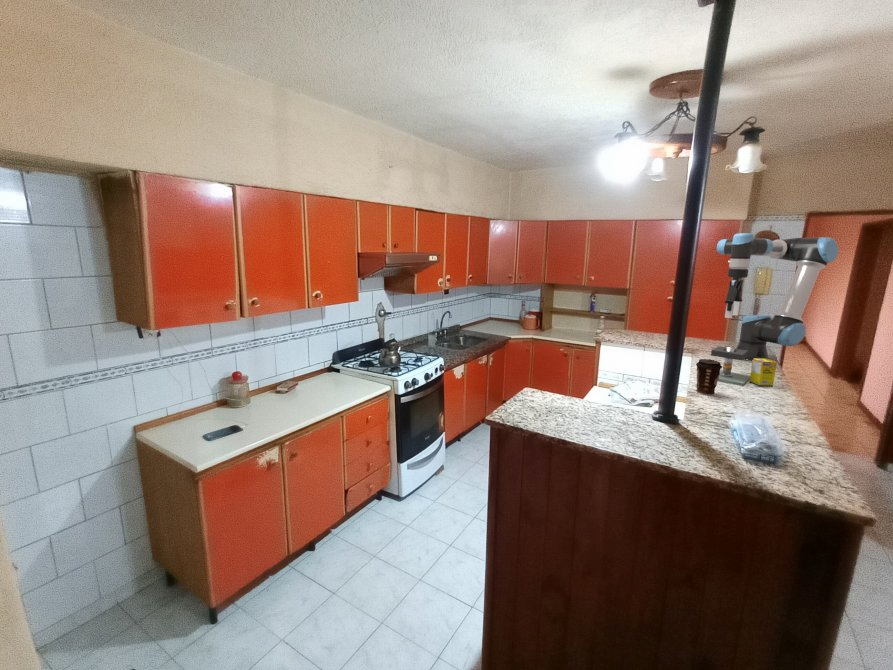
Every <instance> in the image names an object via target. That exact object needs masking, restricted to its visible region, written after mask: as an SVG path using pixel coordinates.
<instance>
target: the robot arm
mask: <svg viewBox="0 0 893 670" xmlns="http://www.w3.org/2000/svg"><path fill="white" fill-rule="evenodd" d="M754 236H755V235H754V233H749V232H748V233H747V232H745V233H735V234H734V235H733V237H732V238H724V239H720V240H719V241H718V242H717V245H716V252H717V253H718V254H719V255H724V256H730V257H729V258H730V259H729V260H728V261H727V263H728V271H727V277H729V278H732V279H731V280H730V281H729V285H728V290H727V294H726V300H724V304H726V306H725V313H724V318H726V319H733V316H737V317H738V316H739V311H740V304H741V302H743V299H742V295H743V284H744V279H742V278H748V276H749V268H750V266H751V265H750V264H751V257H752V256H753V257H755V256H756V257H769V258H771V259H775V260H783V261H790V262H795V265H796V266H797V269H796V271H795V273H794V275H793V277H792V281H791V283H790V285H789V289H788V290H787V293H786V296H785V297H784V300H783V304H782V306H781V308H780V310H779V312H778V313H776V314H774V315H773V318H772V316H771V315H769V314H767V315H762V314H761V315H759V314H757V315H745V316H743V318H742V322H741V328H740V335H739V340H738V344H737V346H736V347H735V349H740V350H747V351H748V356H747V357H746V358H744V359H748V360H753V359H754V358H758V359H769V352H768V349H767V343H772V344H776V345H779V346H787V347H794V346H797V345H798V344H799V343H801V342H802V341H803V339H804V337H805V336H806V333H807V332H806V331H807V329H806V326H805V324H804V319H803V318H802V316H803V313H804V311H805V308H806V306H807V305H808V301H809V300H810V296H811V293H812V291H813V289H814V287H815V283H816V281H817V279H818V277H819V274H820V272H821V270H824V269H826V268H827V265H828V263H833V262H834V261H836V259H837V257H838V254H839V246H838V243H837V241H836V240H835V239H834V238H832V237H825V236H821V237H820V236H819V237H793V238H785V239H775V240H771V239H768V238H763V237H762V238H761V237H760V238H758V237H757V238H754ZM748 360H747V361H748Z"/></svg>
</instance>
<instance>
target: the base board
mask: <svg viewBox="0 0 893 670" xmlns="http://www.w3.org/2000/svg"><path fill="white" fill-rule="evenodd" d="M722 372H723V369H722V370H721V369H720V374H721V373H722ZM731 374H732V377H725V376H721V375H719V379H718V382H720V383H723V384H724V383H726V384H729V385H730V384H731V385H735V386H739V387H744V386H745V385H746V384H748V383H749V382H750V376H751V375H748V374H743V373H738V372H732V371H731Z"/></svg>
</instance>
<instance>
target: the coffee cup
mask: <svg viewBox="0 0 893 670" xmlns="http://www.w3.org/2000/svg"><path fill="white" fill-rule="evenodd" d="M695 365H696V391H695V392H697V393H698V394H701V395H706V396H711V395H713V396H714V395H715V393H716V392H715V391H716V388H717V386H718V382H719V381H718V379H719V375H720V370H721V369H723V365H722V364H721V362H720V361H719V360H714V359H711V358H709V359H708V358H707V359H706V358H701V359H699V360H698V362H696V364H695Z"/></svg>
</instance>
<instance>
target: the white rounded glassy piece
mask: <svg viewBox="0 0 893 670" xmlns="http://www.w3.org/2000/svg"><path fill="white" fill-rule="evenodd" d="M725 347H726V351H730V352H734V349H736V347H733V346H725ZM733 361H734V359H729V358H724V360H723V364H722V371H723V372H722V373H721V374H720V375H721V376H725V377H732V374H731V372H732V370H733Z"/></svg>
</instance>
